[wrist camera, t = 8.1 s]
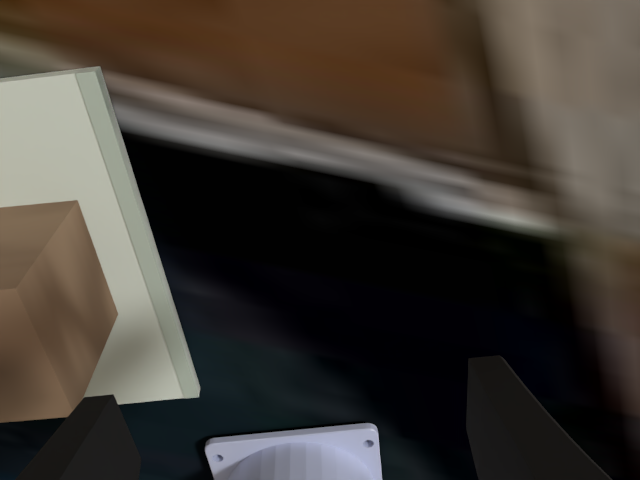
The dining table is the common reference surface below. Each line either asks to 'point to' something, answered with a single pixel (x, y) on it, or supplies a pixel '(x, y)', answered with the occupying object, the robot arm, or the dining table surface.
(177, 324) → the cream tray
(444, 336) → the dining table surface
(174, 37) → the dining table surface
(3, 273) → the walnut cube
